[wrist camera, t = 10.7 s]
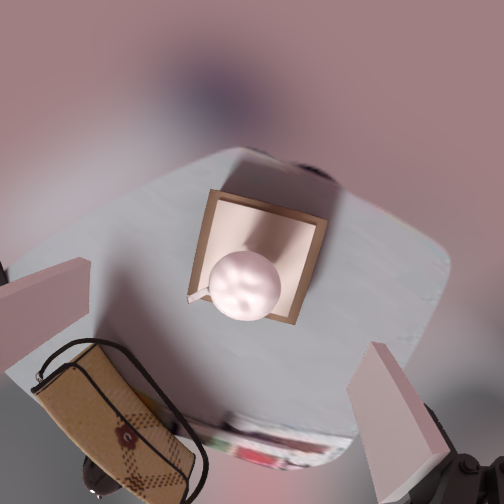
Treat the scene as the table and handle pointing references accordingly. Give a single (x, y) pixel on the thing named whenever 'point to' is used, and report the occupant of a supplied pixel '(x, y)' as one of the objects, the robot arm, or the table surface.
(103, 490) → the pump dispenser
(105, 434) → the clutch purse
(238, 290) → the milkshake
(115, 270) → the table surface
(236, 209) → the dock
